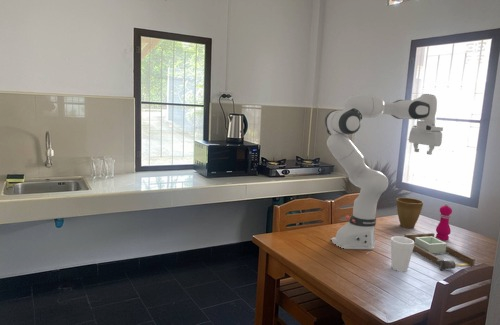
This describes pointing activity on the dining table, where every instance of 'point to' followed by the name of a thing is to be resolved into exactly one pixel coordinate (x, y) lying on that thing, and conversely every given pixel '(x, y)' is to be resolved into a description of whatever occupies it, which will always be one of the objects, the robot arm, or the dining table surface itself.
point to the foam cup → (401, 252)
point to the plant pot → (408, 211)
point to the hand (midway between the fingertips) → (422, 153)
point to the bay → (440, 262)
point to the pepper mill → (444, 223)
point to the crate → (431, 245)
